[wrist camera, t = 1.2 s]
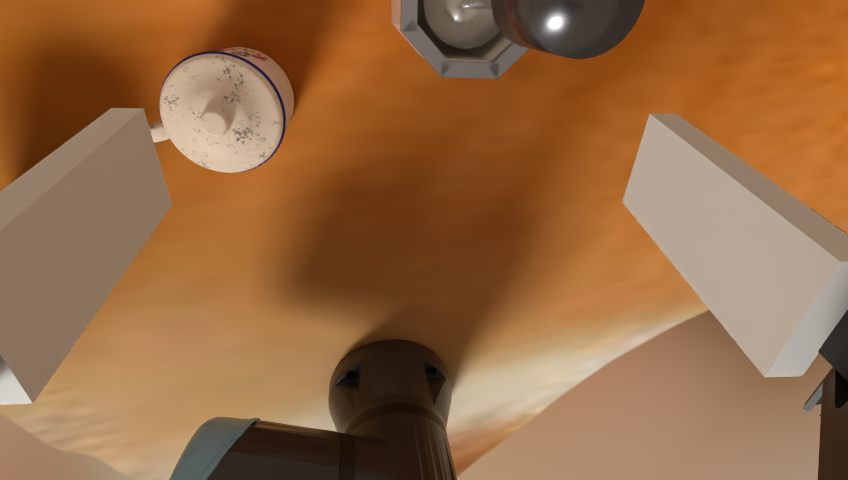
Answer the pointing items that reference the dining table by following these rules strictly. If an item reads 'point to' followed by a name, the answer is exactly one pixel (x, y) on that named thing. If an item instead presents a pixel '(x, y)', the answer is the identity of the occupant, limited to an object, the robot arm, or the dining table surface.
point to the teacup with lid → (225, 108)
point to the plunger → (535, 23)
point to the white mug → (449, 59)
